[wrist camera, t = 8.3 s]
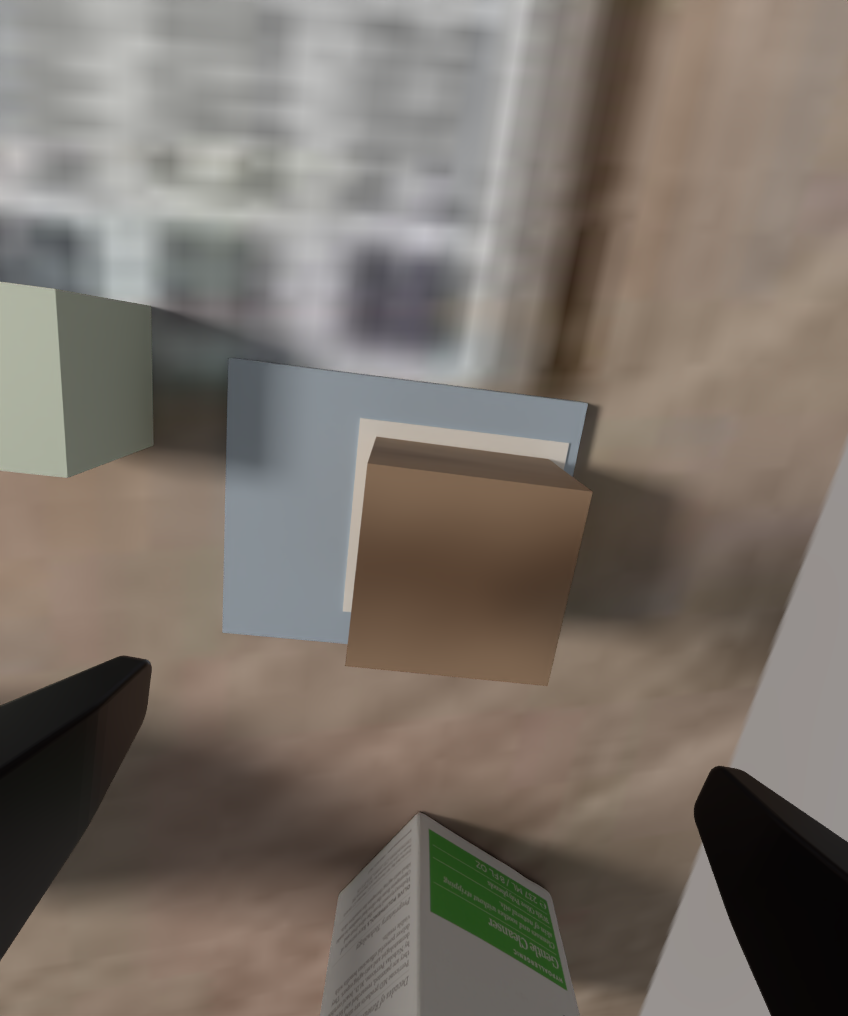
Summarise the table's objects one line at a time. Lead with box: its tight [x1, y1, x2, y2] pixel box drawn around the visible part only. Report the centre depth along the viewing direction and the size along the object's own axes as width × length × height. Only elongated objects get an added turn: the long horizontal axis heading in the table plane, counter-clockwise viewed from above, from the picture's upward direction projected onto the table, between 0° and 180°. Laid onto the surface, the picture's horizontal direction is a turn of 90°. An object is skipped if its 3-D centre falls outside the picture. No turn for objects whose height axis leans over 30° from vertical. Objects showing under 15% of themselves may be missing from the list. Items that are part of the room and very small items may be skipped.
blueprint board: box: [223, 358, 588, 644], centre depth 19 cm, size 10×12×1 cm
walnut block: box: [345, 436, 593, 686], centre depth 17 cm, size 6×6×4 cm
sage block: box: [0, 282, 154, 478], centre depth 15 cm, size 5×5×5 cm
